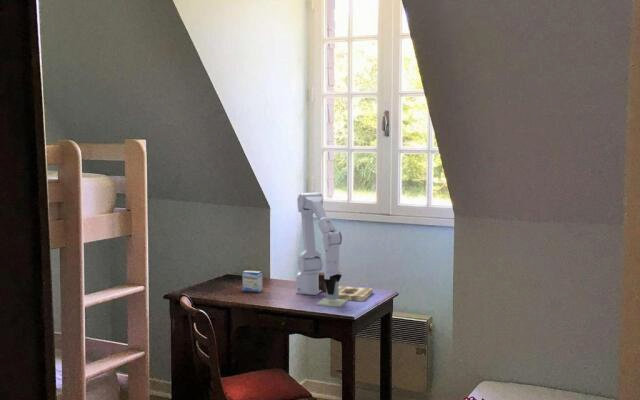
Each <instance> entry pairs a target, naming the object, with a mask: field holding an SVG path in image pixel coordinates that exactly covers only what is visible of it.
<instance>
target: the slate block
mask: <svg viewBox="0 0 640 400" xmlns="http://www.w3.org/2000/svg"><path fill="white" fill-rule="evenodd" d="M339 282H340V281H336V283H335V287H334V293H333V295H330V294H328V292H327V288H326V290H325V291H326V292H325V293H326V294H325V295H326V297H325V298H326V299H329V300H336V299H338V298H339V286H340V285H339Z"/></svg>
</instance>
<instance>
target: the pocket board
mask: <svg viewBox="0 0 640 400" xmlns="http://www.w3.org/2000/svg"><path fill="white" fill-rule="evenodd" d="M373 291H374V290H373V288H370V287H369V288H368V287H355V286H343V285H342V286H341V285H339V298H338V299H348V301H352V302H353V301H354V302H364V301H365V300H367V298H369V297H370V296H372V294H374V293H373Z"/></svg>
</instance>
